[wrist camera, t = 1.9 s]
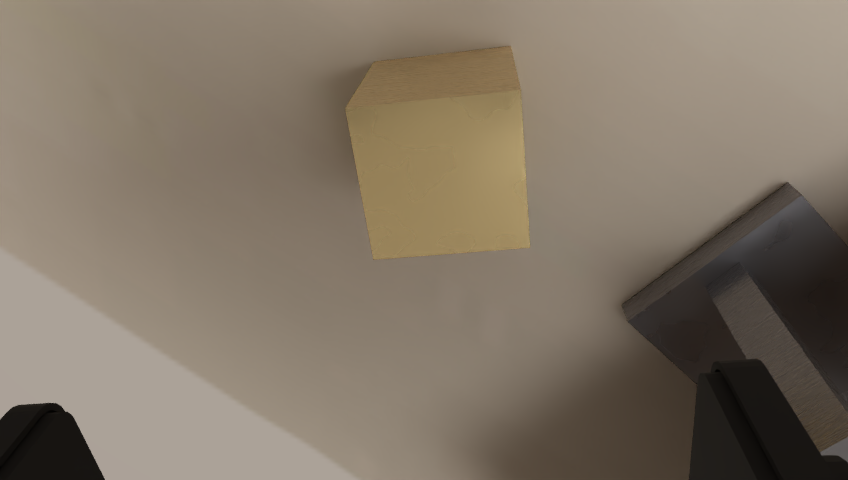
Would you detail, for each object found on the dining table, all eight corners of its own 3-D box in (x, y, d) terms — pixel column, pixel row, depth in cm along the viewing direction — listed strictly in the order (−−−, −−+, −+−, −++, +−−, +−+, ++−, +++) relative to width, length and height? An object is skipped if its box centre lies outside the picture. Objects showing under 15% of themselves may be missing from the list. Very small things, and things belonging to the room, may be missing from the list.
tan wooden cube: (510, 45, 23) (520, 89, 18) (518, 174, 26) (530, 247, 20) (374, 61, 24) (345, 108, 19) (394, 186, 26) (373, 259, 21)
